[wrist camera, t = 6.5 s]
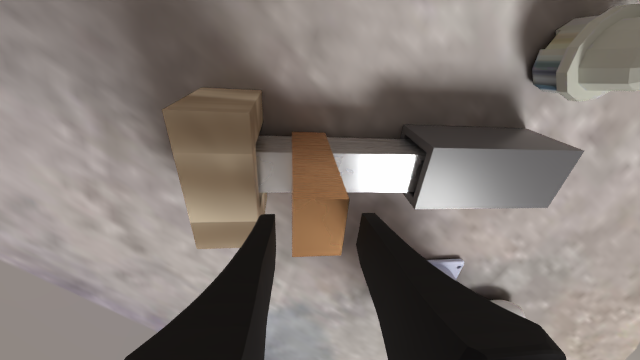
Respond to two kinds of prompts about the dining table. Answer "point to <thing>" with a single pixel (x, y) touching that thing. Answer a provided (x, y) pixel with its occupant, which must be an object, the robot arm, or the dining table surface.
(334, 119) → the dining table surface
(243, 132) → the socket block
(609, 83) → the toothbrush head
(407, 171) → the brown and grey block
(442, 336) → the robot arm
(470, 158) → the sleeve
